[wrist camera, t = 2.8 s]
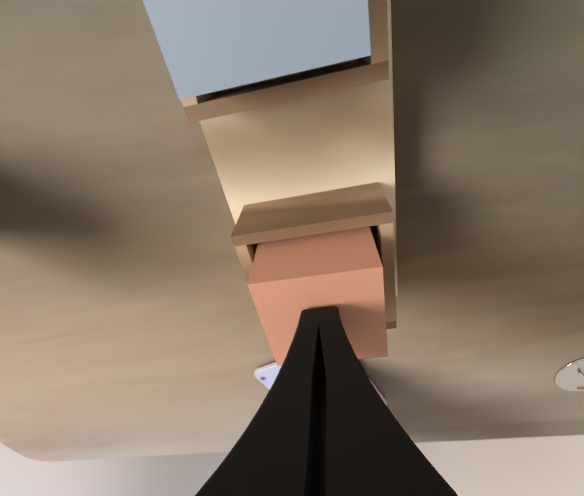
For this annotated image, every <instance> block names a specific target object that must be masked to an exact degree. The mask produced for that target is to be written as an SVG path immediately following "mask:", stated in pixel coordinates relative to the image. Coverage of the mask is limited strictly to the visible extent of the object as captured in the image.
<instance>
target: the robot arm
mask: <svg viewBox="0 0 584 496" xmlns="http://www.w3.org/2000/svg"><path fill="white" fill-rule="evenodd" d="M254 375H255V377H256V378H257V379H258V380H260V381H261V382H262V383H263V384H264V385H265V386H266V387H267V388H268V389H269V392H268V394H267V396H266V398H265V399H264V401H263V403H262V405H261V406H260V408H259V410H258V411H257V413H256V414H255V416H254V418H253V419H252V421H251V422H250V424H249V425H248V427H247V429H246V430H245V432H244V433H243V434H242V436H241V437H240V439H239V440H238V441H237V443H236V444H235V446H234V447H233V448H232V450H231V451H230V452H229V454H228V455H227V457H226V458H225V459H224V461H223V462H222V463H221V464H220V466H219V467H218V469H217V470H216V471H215V472H214V473H213V474H212V476H211V477H210V478H209V479H208V481H207V482H206V483H205V484H204V485H203V487H202V488H201V489H200V490H199V491H198V493H197V494H196V495H195V496H457V494H456V492H455V491H454V490H453V489H452V488H451V487H450V485H449V484H448V483H447V482H446V481H445V480H444V479H443V478H442V476H441V475H440V474H439V473H438V472H437V471H436V470H435V468H434V467H433V466H432V465H431V463H430V462H429V461H428V460H427V459H426V457H425V456H424V455H423V454H422V452H421V451H420V450H419V449H418V447H417V446H416V445H415V444H414V443H413V441H412V440H411V439H410V437H409V436H408V435H407V433H406V432H405V431H404V429H403V428H402V427H401V425H400V424H399V423H398V421H397V420H396V419H395V417H394V416H393V415H392V413H391V412H390V410H389V409H388V407H387V402H386V399H385V398H384V397H383V396H382V394H381V393H380V392H379V390H378V389H377V388H376V386H375V385H374V384H373V383H372V381H371V380H370V379H369V377H368V376H367V374H366V373H365V371H364V369H363V367H362V366H361V364H360V362H359V360H358V358H357V356H356V354H355V352H354V350H353V348H352V346H351V344H350V342H349V340H348V337H347V335H346V333H345V330H344V327H343V325H342V322H341V318H340V314H339V309H338V307H336V306H331V307H322V308H313V309H304V310H303V311H302V312H301V315H300V319H299V322H298V325H297V329H296V332H295V334H294V337H293V340H292V343H291V345H290V348H289V350H288V353H287V355H286V357H285V360H284V362H283V364H282V366H277V363H276V362H274V363H271V364H268V365H265V366H263V367H260V368H257V369H256V370H255V373H254Z"/></svg>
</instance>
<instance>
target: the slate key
mask: <svg viewBox="0 0 584 496" xmlns="http://www.w3.org/2000/svg"><path fill="white" fill-rule="evenodd" d="M143 2H144V5H145V7H146V10H147V13H148V16H149V18H150V21H151V24H152V26H153V29H154V32H155V35H156V37H157V40H158V43H159V45H160V48H161V51H162V54H163V56H164V59H165V62H166V65H167V67H168V70H169V73H170V75H171V78H172V81H173V84H174V86H175V89H176V92H177V94H178V97H179V100H181V99H186V98H190V97H194V96H199V95H203V94H207V93H211V92H216V91H220V90H224V89H229V88H233V87H237V86H241V85H246V84H250V83H254V82H259V81H263V80H267V79H272V78H276V77H280V76H284V75H289V74H293V73H297V72H302V71H306V70H310V69H314V68H319V67H323V66H327V65H332V64H336V63H340V62H344V61H349V60H353V59H357V58H362V57H366V56H370V55H371V48H370V30H369V12H368V0H143Z"/></svg>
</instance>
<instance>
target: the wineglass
mask: <svg viewBox="0 0 584 496" xmlns="http://www.w3.org/2000/svg"><path fill="white" fill-rule="evenodd" d="M555 383H556V385H557V386H558V387H560V388H561V389H564V390H567V391H584V358H582V359H579V360H576V361H573V362H571V363H569V364H567V365H566V366H564V367H563V368H562V369H560V370H559V371H558V373H557V374H556V376H555Z"/></svg>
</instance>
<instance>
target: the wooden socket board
mask: <svg viewBox="0 0 584 496" xmlns="http://www.w3.org/2000/svg"><path fill="white" fill-rule="evenodd" d="M368 12H369V30H370V48H371V55H370V56H366V57H362V58H357V59H353V60H349V61H344V62H340V63H336V64H332V65H327V66H323V67H319V68H314V69H310V70H306V71H302V72H297V73H293V74H289V75H284V76H280V77H276V78H272V79H267V80H263V81H259V82H254V83H250V84H246V85H241V86H237V87H233V88H229V89H224V90H220V91H216V92H211V93H207V94H203V95H199V96H194V97H190V98H186V99H181V101H182V104H183V107H184V109H185V112H186V115H187V118H188V120H189V123H192V122H197V121H200V124H201V127H202V129H203V132H204V135H205V138H206V141H207V144H208V147H209V150H210V153H211V155H212V158H213V161H214V164H215V167H216V170H217V173H218V176H219V178H220V181H221V184H222V187H223V190H224V193H225V196H226V199H227V201H228V204H229V207H230V210H231V213H232V216H233V219H234V222H235V225H236V226H235V228H234V230H233V233H232V235H231V238H232V241H233V244H234V246H235V249H236V252H237V254H238V257H239V260H240V263H241V265H242V268H243V271H244V274H245V276H246V279H247V282H248V280H249V277H250V273H251V269H252V265H253V261H254V257H255V253H256V250H257V246H258V243H262V242H268V241H275V240H282V239H288V238H295V237H302V236H308V235H315V234H322V233H328V232H335V231H342V230H348V229H355V228H362V227H368V226H369V227H370V230H371V233H372V236H373V239H374V242H375V245H376V248H377V251H378V254H379V257H380V260H381V263H382V266H383V281H384V299H385V317H386V329H392V328H396V296H398V285H397V243H396V200H395V158H394V115H393V73H392V30H391V0H368Z"/></svg>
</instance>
